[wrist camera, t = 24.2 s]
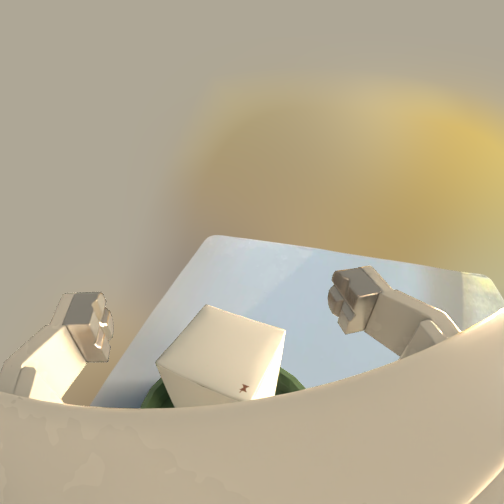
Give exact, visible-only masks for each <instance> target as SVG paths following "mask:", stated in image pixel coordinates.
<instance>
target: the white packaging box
mask: <svg viewBox="0 0 504 504" xmlns="http://www.w3.org/2000/svg"><path fill="white" fill-rule="evenodd" d="M284 338H285V330H284V329H281V328H278V327H274V326H271V325H267V324H264V323H261V322H257V321H254V320H251V319H248V318H245V317H242V316H239V315H236V314H233V313H230V312H227V311H224V310H221V309H218V308H215V307H212V306H209V305H205V306H204V307H203V308H202V309H201V310H200V311H199V313H198V314H197V315H196V316H195V317H194V319H193V320H192V321H191V322H190V323H189V324H188V326H187V327H186V328H185V329H184V330H183V331H182V333H181V334H180V335H179V336H178V337H177V338H176V339H175V341H174V342H173V343H172V344H171V345H170V346H169V347H168V348H167V349H166V350H165V352H164V353H163V354H162V355H161V356H160V357H159V358H158V359H157V360H156V362H155V363H156V366H157V368H158V371H159V373H160V376H161V378H162V380H163V383H164V385H165V387H166V390H167V392H168V394H169V396H170V398H171V401H172V403H173V405H174V407H175V408H180V407H195V406H206V405H216V404H225V403H233V402H240V401H247V400H253V399H259V398H265V397H271V396H275V390H276V385H277V379H278V374H279V369H280V363H281V357H282V351H283V344H284Z"/></svg>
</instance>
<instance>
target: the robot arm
mask: <svg viewBox="0 0 504 504" xmlns="http://www.w3.org/2000/svg"><path fill="white" fill-rule="evenodd" d="M332 282H333V283H334V285H333V286H332V287H331V288H330V290H329V293H328V305H329V308H330V310H331V312H332V314H334V315H336V316H337V317H339V318H338V324H339V325H340V327H341V328H342V330H343V332H344V333H345V334H350V333H355V332H359V331H364V330H365V331H364V332H366V333H367V334H369V335H370V336H371V337H373V338H374V339H376V340H377V341H379V342H380V343H381V344H383V345H384V346H386V347H387V348H389V349H390V350H392V351H393V352H394V353H396V354H397V355H399V356H400V358H399V359H398V361H395V362H393V363H390V364H387V365H385V366H382V367H379V368H376V369H373V370H370V371H367V372H364V373H361V374H358V375H355V376H352V377H348V378H345V379H342V380H338V381H335V382H331V383H328V384H324V385H320V386H316V387H312V388H308V389H304V390H300V391H295V392H291V393H286V394H281V395H276V396H271V397H265V398H259V399H253V400H247V401H240V402H233V403H225V404H216V405H206V406H195V407H180V408H152V409H132V408H105V407H91V406H79V405H71V404H65V403H64V402H63V401H62V400H61V398H62V397H63V395H64V394H65V392H66V391H67V390H68V388H69V387H70V385H71V384H72V383H73V381H74V380H75V379H76V377H77V376H78V375H79V373H80V372H81V371H82V369H83V368H84V367H85V365H86V364H87V363H86V362H108V359H109V353H110V348H111V347H110V345H109V342H108V341H109V340H110V339H111V338H112V337H113V331H114V325H113V319H112V315H111V312H110V311H109V310H108V309H107V308H106V307H105V305H106V299H105V297H104V294H103V293H101V292H85V293H65V294H63V295H62V297H61V299H60V301H59V304H58V306H57V308H56V310H55V313H54V315H53V317H52V319H51V322H50V324H49V325H45V326H44V327H43V328H42V329H41V330H39V331H38V332H37V333H36V334H35V335H34V336H32V337H31V338H30V339H29V340H28V341H27V342H26V343H24V344H23V345H22V346H21V347H20V348H19V349H18V350H17V351H16V352H15V353H14V354H12V355H11V356H10V357H9V358H8V359H7V360H6V361H5V362H4V364H3V367H2V369H1V372H0V504H504V308H502V309H501V310H499V311H497V312H496V313H494V314H492V315H491V316H489V317H487V318H486V319H484V320H482V321H481V322H479V323H477V324H475V325H473V326H472V327H470V328H468V329H466V330H464V331H462V332H461V331H460V329H459V328H458V327H457V326H456V325H455V324H454V322H453V321H452V320H451V319H450V318H449V317H448V316H447V314H446V313H445V312H443V311H441V310H439V309H437V308H435V307H433V306H430V305H428V304H426V303H424V302H422V301H420V300H418V299H416V298H413V297H411V296H409V295H407V294H405V293H403V292H401V291H398V290H393V289H392V288H391V287H390V286H389V285H388V284H387V282H386V281H385V280H384V279H383V278H382V277H381V276H380V275H379V274H378V273H377V271H376V270H375V269H374V268H373V267H371V266H364V267H358V268H354V269H347V270H339V271H335V272H334V274H333V277H332Z"/></svg>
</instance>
